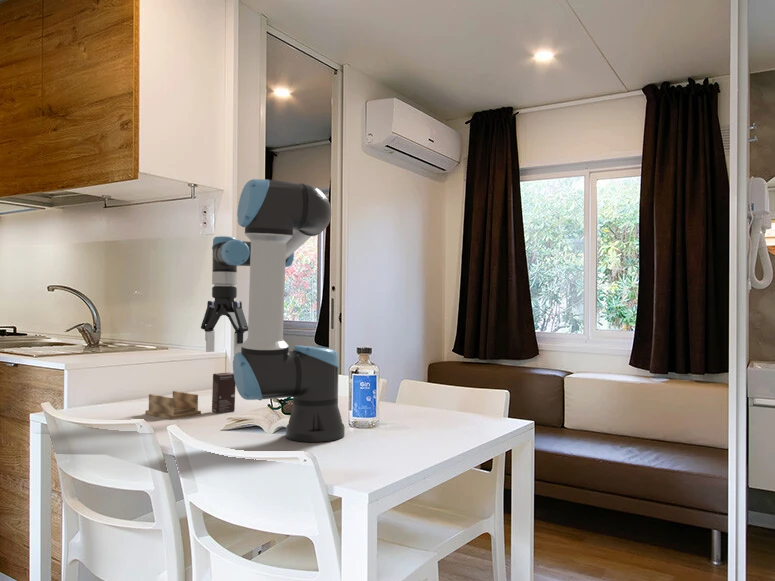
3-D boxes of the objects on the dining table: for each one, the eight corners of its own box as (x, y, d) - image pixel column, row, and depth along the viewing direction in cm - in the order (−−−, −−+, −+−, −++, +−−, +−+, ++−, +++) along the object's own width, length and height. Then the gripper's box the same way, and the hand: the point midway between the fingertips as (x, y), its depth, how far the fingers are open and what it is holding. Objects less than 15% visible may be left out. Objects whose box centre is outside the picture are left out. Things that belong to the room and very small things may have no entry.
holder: (201, 414, 184) (201, 394, 184) (172, 419, 176) (172, 398, 176) (174, 409, 192) (174, 390, 192) (145, 413, 184) (145, 394, 184)
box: (218, 414, 184) (218, 375, 185) (211, 412, 188) (211, 373, 188) (236, 411, 189) (236, 373, 189) (228, 409, 192) (229, 372, 192)
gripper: (260, 285, 184) (259, 354, 184) (209, 286, 199) (208, 350, 199) (241, 285, 178) (240, 356, 178) (190, 285, 193) (189, 351, 193)
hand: (223, 353), depth 188 cm, fingers open, 13 cm apart
